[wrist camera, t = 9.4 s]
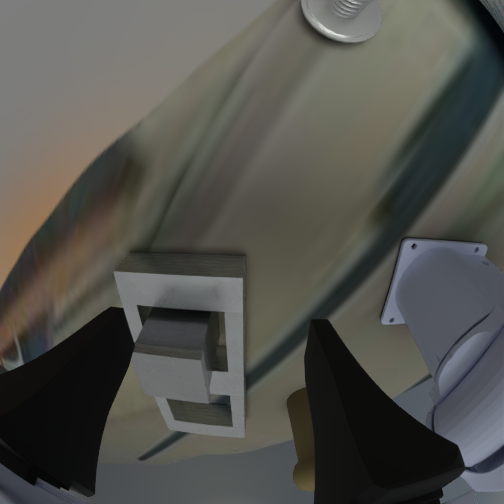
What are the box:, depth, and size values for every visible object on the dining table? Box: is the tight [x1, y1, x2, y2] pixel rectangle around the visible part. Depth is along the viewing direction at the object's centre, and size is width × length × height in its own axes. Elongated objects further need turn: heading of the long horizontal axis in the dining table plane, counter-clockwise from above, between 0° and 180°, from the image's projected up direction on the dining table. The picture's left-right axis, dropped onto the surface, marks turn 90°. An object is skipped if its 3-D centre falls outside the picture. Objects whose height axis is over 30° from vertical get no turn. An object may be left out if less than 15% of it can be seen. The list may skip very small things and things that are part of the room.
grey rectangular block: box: [131, 307, 220, 404], centre depth 20 cm, size 5×5×7 cm
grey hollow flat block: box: [114, 252, 246, 438], centre depth 24 cm, size 9×22×3 cm, turn 179°
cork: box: [287, 388, 315, 491], centre depth 23 cm, size 6×6×11 cm
